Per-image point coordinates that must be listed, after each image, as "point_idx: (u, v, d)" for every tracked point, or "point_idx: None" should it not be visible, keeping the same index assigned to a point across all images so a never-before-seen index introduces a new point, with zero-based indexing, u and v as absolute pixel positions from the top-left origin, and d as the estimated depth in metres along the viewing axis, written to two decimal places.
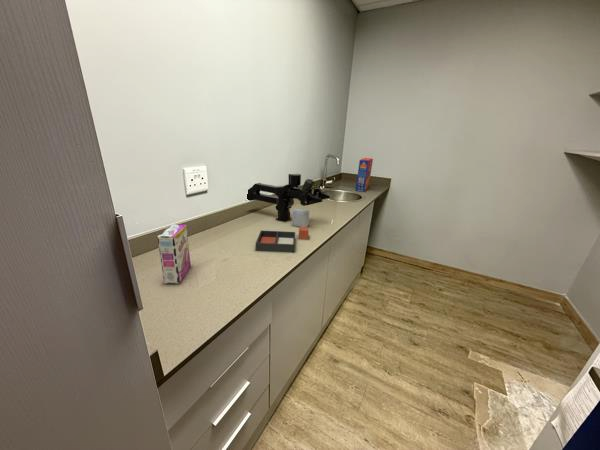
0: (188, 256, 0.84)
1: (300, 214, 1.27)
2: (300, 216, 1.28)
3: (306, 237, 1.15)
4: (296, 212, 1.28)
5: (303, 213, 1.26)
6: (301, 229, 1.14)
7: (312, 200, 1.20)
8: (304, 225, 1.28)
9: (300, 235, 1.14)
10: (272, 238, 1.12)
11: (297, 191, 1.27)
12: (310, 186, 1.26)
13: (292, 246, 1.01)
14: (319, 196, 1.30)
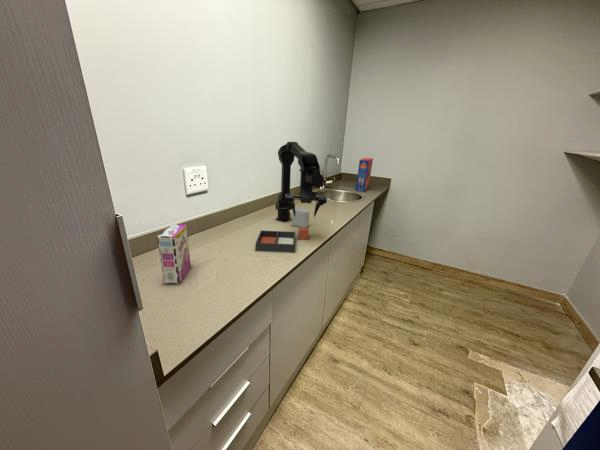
0: (188, 256, 0.84)
1: (300, 214, 1.27)
2: (300, 216, 1.28)
3: (306, 237, 1.15)
4: (296, 212, 1.27)
5: (303, 213, 1.26)
6: (301, 229, 1.14)
7: None
8: (304, 225, 1.28)
9: (300, 235, 1.14)
10: (272, 238, 1.12)
11: (301, 183, 1.06)
12: None
13: (292, 246, 1.01)
14: (316, 203, 1.12)
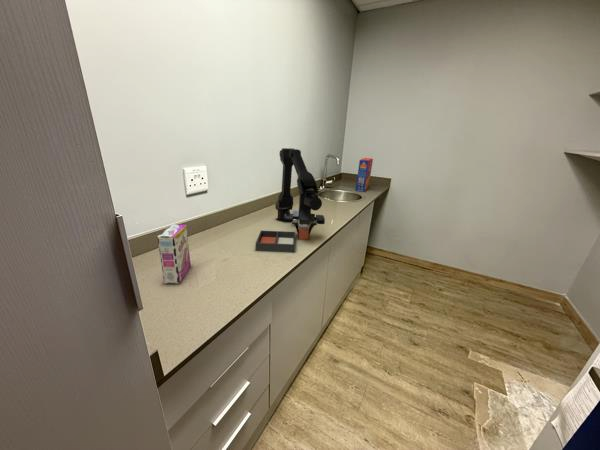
0: (188, 256, 0.84)
1: None
2: None
3: (306, 237, 1.15)
4: (296, 212, 1.27)
5: None
6: (301, 229, 1.14)
7: None
8: (304, 225, 1.28)
9: (300, 235, 1.14)
10: (272, 238, 1.12)
11: (300, 204, 1.09)
12: None
13: (292, 246, 1.01)
14: (310, 223, 1.15)
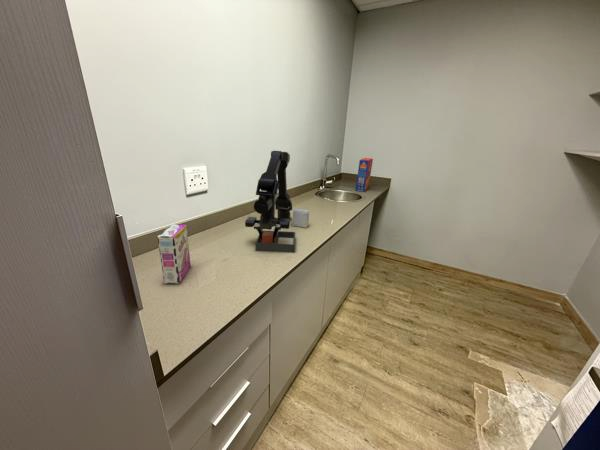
0: (188, 256, 0.84)
1: (300, 214, 1.27)
2: (300, 216, 1.28)
3: None
4: (296, 212, 1.27)
5: (303, 213, 1.26)
6: (264, 234, 1.05)
7: None
8: (304, 225, 1.28)
9: (263, 240, 1.05)
10: None
11: None
12: None
13: (292, 246, 1.01)
14: None
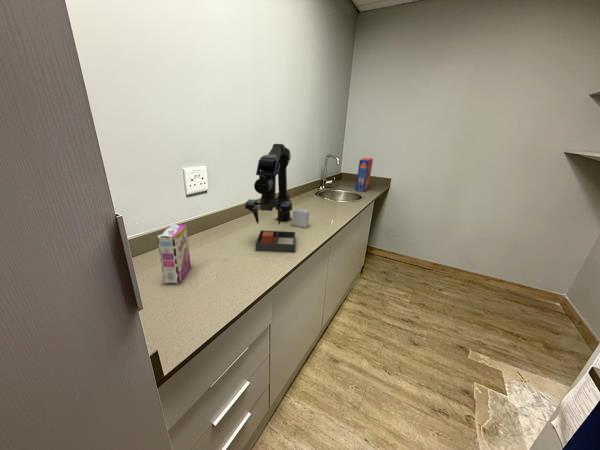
0: (188, 256, 0.84)
1: (300, 214, 1.27)
2: (300, 216, 1.28)
3: None
4: (296, 212, 1.28)
5: (303, 213, 1.26)
6: (264, 234, 1.05)
7: None
8: (304, 225, 1.28)
9: (263, 240, 1.05)
10: None
11: None
12: None
13: (292, 246, 1.01)
14: None
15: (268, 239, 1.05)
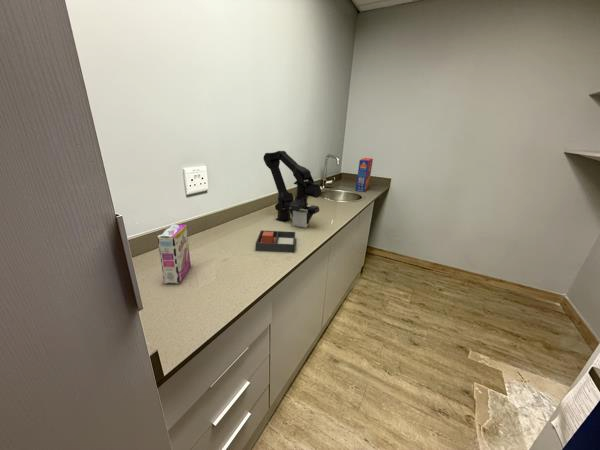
0: (188, 256, 0.84)
1: (300, 214, 1.27)
2: (300, 216, 1.28)
3: None
4: (296, 212, 1.27)
5: (303, 213, 1.26)
6: (264, 234, 1.05)
7: None
8: (304, 225, 1.28)
9: (263, 240, 1.05)
10: None
11: None
12: None
13: (292, 246, 1.01)
14: None
15: (268, 239, 1.05)
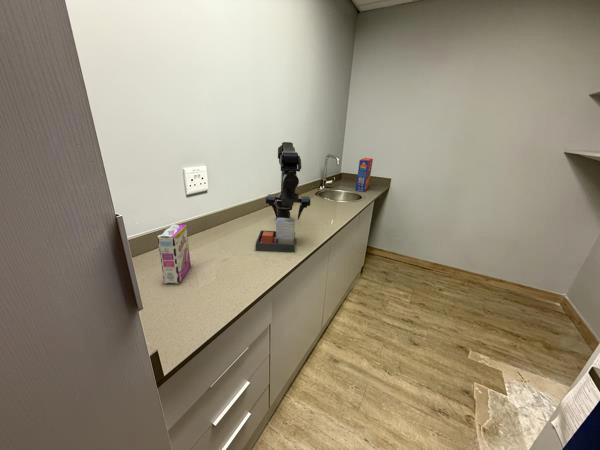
0: (188, 256, 0.84)
1: (286, 224, 1.02)
2: (285, 227, 1.02)
3: None
4: (280, 222, 1.02)
5: (290, 222, 1.02)
6: (264, 234, 1.05)
7: None
8: (291, 237, 1.04)
9: (263, 240, 1.05)
10: None
11: (283, 184, 0.99)
12: None
13: (292, 246, 1.01)
14: None
15: (268, 239, 1.05)
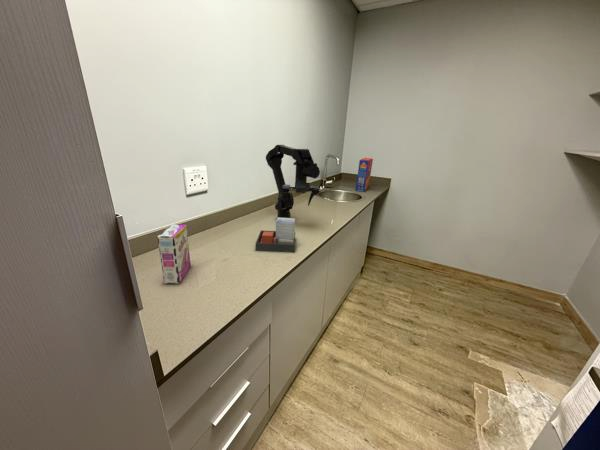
0: (188, 256, 0.84)
1: (286, 224, 1.02)
2: (285, 227, 1.03)
3: None
4: (280, 222, 1.02)
5: (289, 222, 1.02)
6: (264, 234, 1.05)
7: None
8: (291, 237, 1.04)
9: (263, 240, 1.05)
10: None
11: (296, 175, 1.19)
12: None
13: (292, 246, 1.01)
14: None
15: (268, 239, 1.05)
